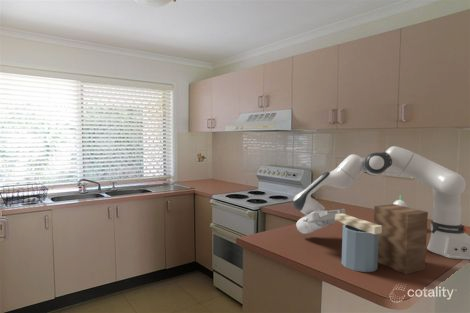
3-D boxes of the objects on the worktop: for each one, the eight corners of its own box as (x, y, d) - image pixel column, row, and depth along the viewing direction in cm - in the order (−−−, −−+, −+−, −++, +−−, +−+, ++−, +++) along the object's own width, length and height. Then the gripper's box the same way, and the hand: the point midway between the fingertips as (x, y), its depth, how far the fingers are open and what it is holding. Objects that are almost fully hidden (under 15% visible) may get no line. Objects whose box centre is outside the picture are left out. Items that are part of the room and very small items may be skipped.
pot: (375, 261, 135) (377, 225, 134) (378, 274, 122) (380, 234, 121) (341, 256, 140) (343, 221, 139) (341, 268, 127) (342, 230, 126)
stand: (372, 259, 137) (374, 206, 135) (391, 255, 142) (393, 204, 140) (405, 274, 122) (408, 214, 121) (424, 269, 127) (427, 212, 126)
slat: (334, 220, 141) (335, 214, 141) (341, 219, 142) (341, 213, 142) (374, 234, 121) (374, 227, 121) (381, 233, 122) (382, 225, 122)
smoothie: (401, 226, 190) (403, 194, 189) (409, 230, 182) (411, 196, 180) (388, 226, 190) (389, 194, 188) (395, 230, 181) (397, 196, 180)
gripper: (299, 215, 151) (316, 206, 139) (331, 211, 159) (350, 203, 148) (303, 227, 148) (320, 220, 137) (335, 223, 157) (354, 215, 146)
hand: (336, 211), depth 143 cm, fingers open, 8 cm apart
